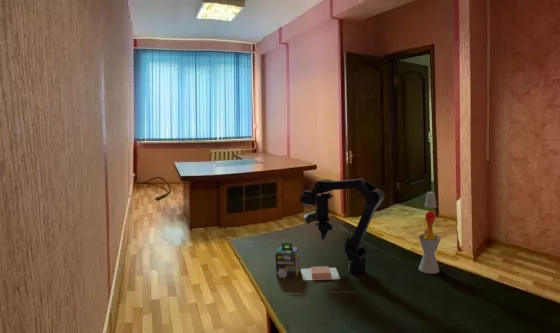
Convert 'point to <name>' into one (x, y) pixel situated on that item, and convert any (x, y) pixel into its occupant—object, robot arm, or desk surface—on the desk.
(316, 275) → the block
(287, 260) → the chalk box
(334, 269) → the board
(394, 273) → the desk surface
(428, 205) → the lava lamp
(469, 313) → the desk surface
